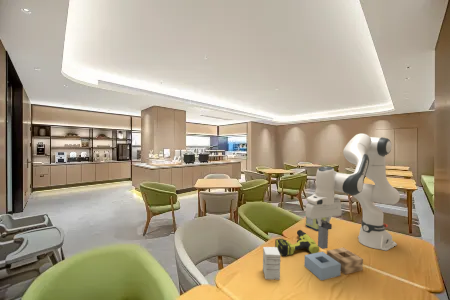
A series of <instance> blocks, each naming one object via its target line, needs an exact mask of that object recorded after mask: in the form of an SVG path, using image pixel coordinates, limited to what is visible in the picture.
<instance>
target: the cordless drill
mask: <svg viewBox="0 0 450 300" xmlns="http://www.w3.org/2000/svg"><path fill="white" fill-rule="evenodd" d="M296 234H297V236H298V238H299V239H297V240H296V243H293V244H292V243H291V242H290V241H288V240H286V239H284V238H279V239H275V243H274V247H277V249H278V251H279V253H280V257H282V256H284V257H287V256H288V255H294V252H295V251H298V250H301V249H306V250H308V251H309V253H310V254H313V253H318V252H320V247H319V246H318V243H317V242H316V241H315V240H314V239H313V238H312V237H310V236H309V234H307V233H306V232H304V231H303V230H301V229H299V230H297V232H296Z"/></svg>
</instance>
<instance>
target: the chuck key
mask: <svg viewBox="0 0 450 300" xmlns="http://www.w3.org/2000/svg"><path fill="white" fill-rule="evenodd" d="M321 222H323V226H319V228H318V231H317V232H318V236H317V246H318V247H319V249H321V250H325V249H328V245H329V243H328V241H329V230H332V223H328V222H326V221H324V220H322V219H321ZM316 224H318V221H317V219H316Z"/></svg>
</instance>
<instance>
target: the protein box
mask: <svg viewBox="0 0 450 300" xmlns="http://www.w3.org/2000/svg"><path fill="white" fill-rule="evenodd" d="M326 218H327V217H324V218H322V220H324V221H325V220H326ZM330 222H331V220H330V221H329V223H330ZM330 224H331V223H330ZM305 227H306V228H309V229H311V230H313V231H315V232H318V228H319V225H318V224H316V219H309V218H308V217H306V216H305Z"/></svg>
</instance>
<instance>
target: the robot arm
mask: <svg viewBox="0 0 450 300" xmlns="http://www.w3.org/2000/svg"><path fill="white" fill-rule="evenodd" d="M392 146H393V144H392V142H391V140H390V139H389V138H387V137H378V136H370V135H368V134H366V133H357V134H355V135H354V136H353V137H352V138H351V139H349V141H348V142H347V144H346V145H345V146H344V148H343V150H342V154H343V157H344V158H345V160H347V162H349V163H350V164H352V165H355V169H354V171H353V173H344V172H337V171H335V169H334V167H332V166H320V167H318V168H317V170H316V174H315V187H316V188H315V189H314V190H315V191H314V193H313V194H312V195H310V196H308V197H306V202H307V203H306V205H305V215H304V216H305V218H306V217H308V218H309V219H317V221H318V225H319V226H323V222H321V219H322V218H324V217H327V218H326V220H325V221H326V222H328V223H329V221H330V222H331V220H332V217H338V216H341V215H342V203H341V199H340V198H339V196H337V197H335V192H339V193H344V194H347V195H349V196H353V197H354V199H356V200H357V201H358V203H359V204H360V206H361V209H362V220H361V226H360V229H359V234H358V236H357V238H358V242H359V243H360V244H361V245H364V246H365V247H368V248H372V249H376V250H382V251H389V250H390V249H392V248H394V246H395V247H396V246H397V245H398V244H397V243H396V241H393V236H392V234H391V233H390V232H388V231H387V230H386V228H388V226H389V224H387V223H384V212H383V210H382V209H381V208H380V207H378V206H376V205H375V204H374V203H379V204H383V205H384V204H385V205H395V204H397V203H399V201H400V198H401V195H400V192H399V191H398V189H396V188H395V187H393V185H392V184H391V183H390V182H389V181H388V179H387V172H386V167H387V165H386V163H387V162H386V161H387V159H386V156H387V155H389V154H390V153H391V150H392ZM365 178H367V179H368V180H371V181H372V183H374V184H371V183H364V182H365Z"/></svg>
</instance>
